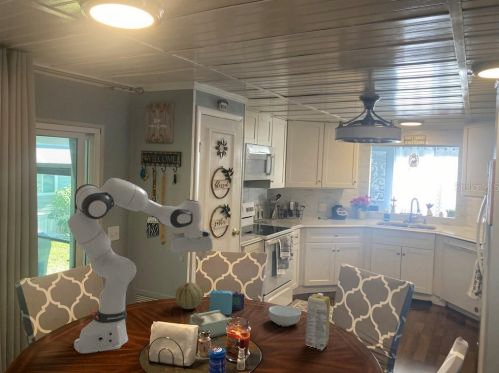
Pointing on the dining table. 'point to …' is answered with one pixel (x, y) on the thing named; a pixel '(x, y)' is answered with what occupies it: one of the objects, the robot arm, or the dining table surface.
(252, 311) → the dining table surface
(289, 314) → the cereal bowl
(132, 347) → the dining table surface
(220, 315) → the cover plate
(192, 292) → the cantaloupe
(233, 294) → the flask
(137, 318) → the dining table surface
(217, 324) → the box
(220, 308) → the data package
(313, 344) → the juice carton
